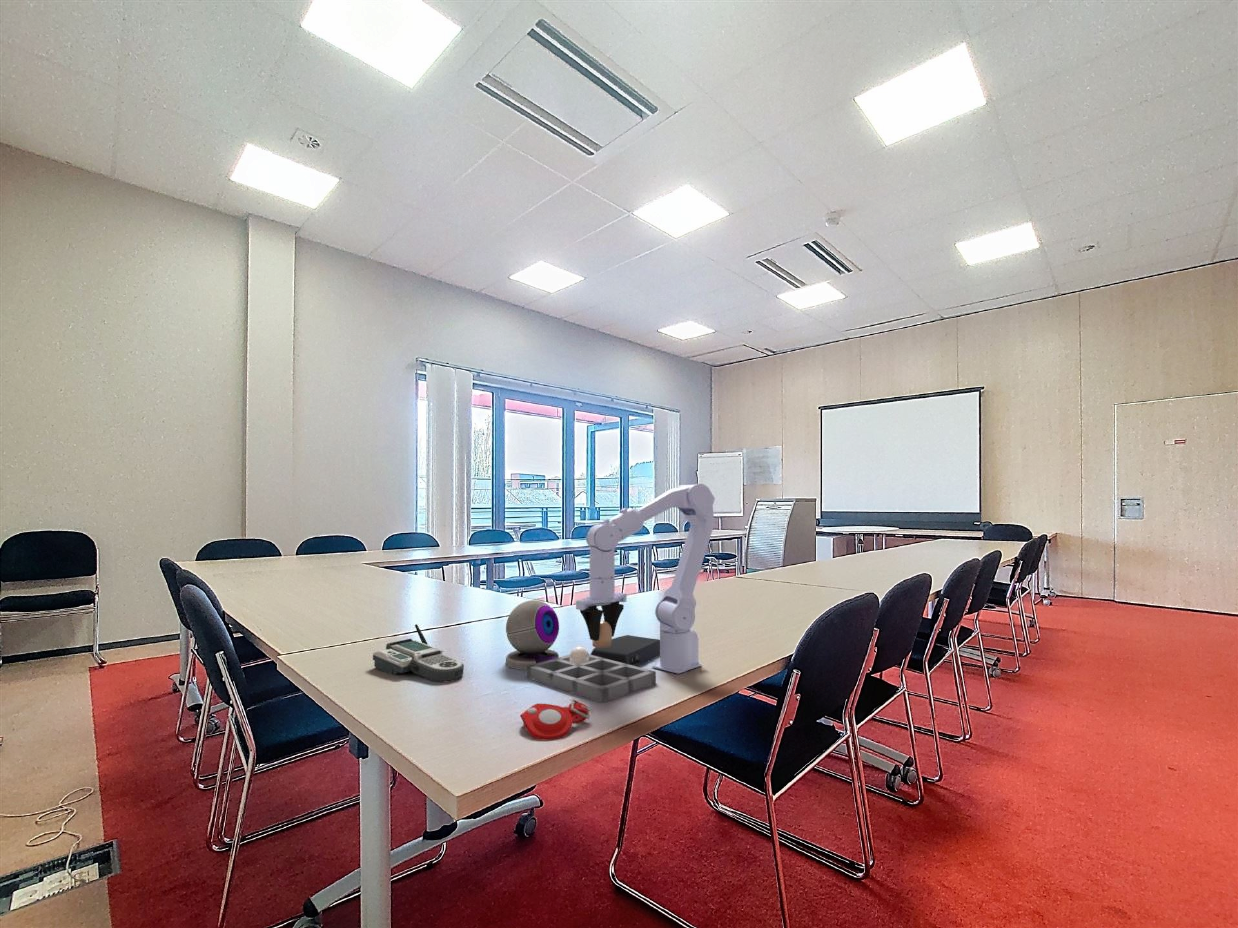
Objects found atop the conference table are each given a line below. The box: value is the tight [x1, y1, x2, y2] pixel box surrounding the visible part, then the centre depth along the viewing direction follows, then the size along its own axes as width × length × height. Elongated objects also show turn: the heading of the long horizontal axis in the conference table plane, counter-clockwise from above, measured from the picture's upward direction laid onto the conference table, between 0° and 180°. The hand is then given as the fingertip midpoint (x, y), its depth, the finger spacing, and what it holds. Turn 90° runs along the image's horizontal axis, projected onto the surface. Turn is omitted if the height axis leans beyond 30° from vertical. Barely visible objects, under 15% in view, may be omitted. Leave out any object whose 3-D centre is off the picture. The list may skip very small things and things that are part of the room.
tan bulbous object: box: [591, 620, 613, 648], centre depth 131 cm, size 4×4×5 cm
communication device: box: [372, 623, 465, 683], centre depth 135 cm, size 12×24×9 cm, turn 53°
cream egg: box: [569, 646, 589, 664], centre depth 136 cm, size 4×4×5 cm
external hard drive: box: [589, 634, 660, 667], centre depth 147 cm, size 13×19×4 cm
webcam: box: [505, 599, 560, 671], centre depth 143 cm, size 13×13×15 cm
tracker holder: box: [519, 698, 591, 741], centre depth 102 cm, size 12×4×10 cm
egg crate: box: [526, 653, 657, 704], centre depth 128 cm, size 24×16×2 cm
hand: (602, 637), depth 131 cm, fingers closed on tan bulbous object, 4 cm apart
